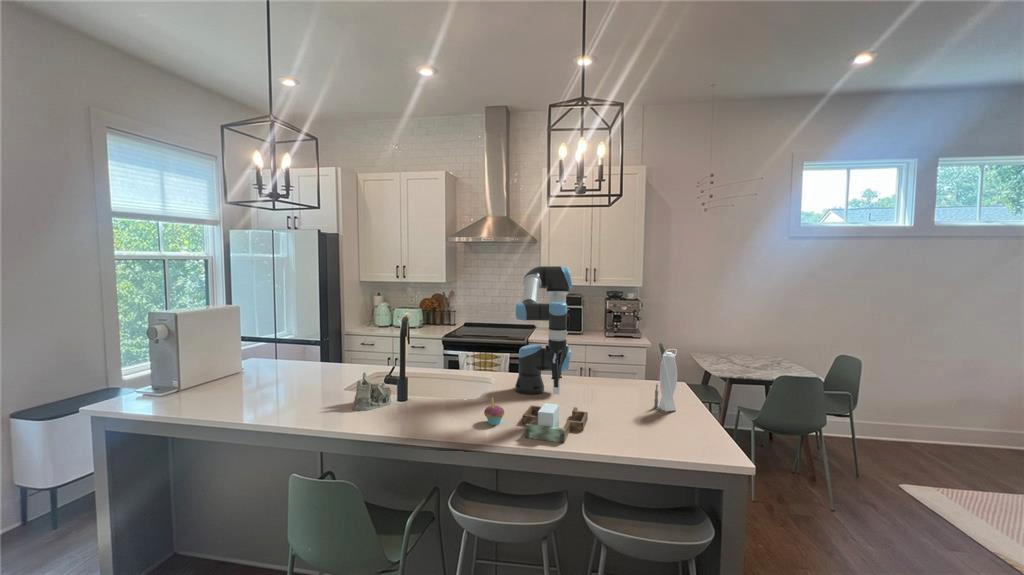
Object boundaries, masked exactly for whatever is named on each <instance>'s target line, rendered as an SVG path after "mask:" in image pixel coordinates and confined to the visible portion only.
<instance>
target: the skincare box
mask: <svg viewBox="0 0 1024 575" xmlns="http://www.w3.org/2000/svg"><path fill="white" fill-rule="evenodd" d="M540 407H541V408H540V410H539V411H538V425H541V426H549V427H556V428H560V404H557V403H549V402H548V403H546V402H545V403H543V405H542V406H540Z"/></svg>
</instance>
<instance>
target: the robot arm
mask: <svg viewBox="0 0 1024 575" xmlns="http://www.w3.org/2000/svg"><path fill="white" fill-rule="evenodd" d="M572 283H573V282H572V275H571V269H570V268H569V267H568V266H561V265H560V266H557V265H556V266H555V265H554V266H553V265H552V266H551V265H550V266H545V265H544V266H543V265H542V266H541V265H540V266H536V267H533V268H531V269H530V270H529V271H528V272H526V274H525V275H524V276H523V279H522V286H523V290H522V291H523V292H522V298H521V302H518V303H516V304H515V319H516V320H519V321H544V322H546V321H547V322H548V334H547V335H548V337H547V338H548V340H547V341H548V342H547V343H546V344H545V347H542V345H541V344H527V345H524V346H521V347H520V348H519V349H518V350H519V351H518V376H517V380H516V382H515V386H514V391H516V392H517V393H520V394H523V395H538V394H541V393H544V391H545V385H544V384H545V383H544V381H543V378H542V372H551V376H552V377H551V378H550V379H551V380H552V383H553V385H552V394H553V395H561V379H563V376H562V375H563V374H562V372H567V371H569V368H570V365H571V364H570V362H571V356H572V349H571V348H569V345H568V343H567V335H568V334H569V332H568V331H567V328H568V327H567V326H568V304H567V295H568V294H569V293H570V290H572V289H573V285H572ZM540 289H545V290H546V293H547V294H548V295H549V296H548V298H549V299H548V301H549V303H541V302H539V296H540Z"/></svg>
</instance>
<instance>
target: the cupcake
mask: <svg viewBox="0 0 1024 575" xmlns="http://www.w3.org/2000/svg"><path fill="white" fill-rule="evenodd" d="M494 404H495V402H494V396H491V405H489V406H487V407H486V408H484V411H483V413H484V414H483V415H484V416H485V417H486V419H487V423H488V424H489V425H491V426H497V425H500V423H501V421H502V418H503V417H504V415H505V410H504V408H503V407H501V406H499V405H494Z"/></svg>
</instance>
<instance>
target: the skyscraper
mask: <svg viewBox="0 0 1024 575" xmlns="http://www.w3.org/2000/svg"><path fill="white" fill-rule="evenodd" d="M670 351H675V353H673V352H670ZM677 353H678V349H676V348H668V349H666V350H665V351H664V352H663V354H662V355H661V356H662V358H661V362H660V368H659V385H658V384H656V385H655V390H654V405H653V407H654V408H653V409H655V408H656V409H655V410H657V409H658V410H657V411H659V410H660V411H662V412H666V413H670V412H669V411H674V412H676V411H677V409H676V406H675V399H674V394H675V391H676V388H677V384H678V367H677V362H676V361H677V360H676V356H677ZM658 386H659V387H660V388H659V387H658ZM658 388H659V389H660V394H661V399H660V401H659V389H658ZM660 411H659V412H660ZM662 412H661V413H662Z"/></svg>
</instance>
